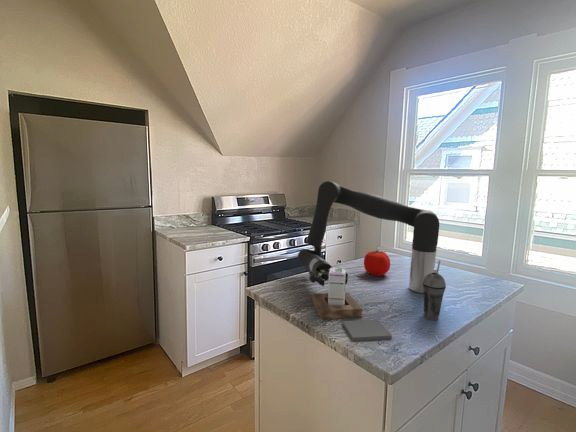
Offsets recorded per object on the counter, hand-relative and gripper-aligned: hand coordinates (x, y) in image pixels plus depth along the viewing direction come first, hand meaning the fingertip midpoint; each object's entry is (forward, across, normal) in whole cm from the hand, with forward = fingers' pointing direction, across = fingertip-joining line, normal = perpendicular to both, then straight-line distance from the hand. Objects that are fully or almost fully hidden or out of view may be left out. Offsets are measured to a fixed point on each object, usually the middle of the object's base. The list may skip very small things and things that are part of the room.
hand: (334, 282), depth 115 cm
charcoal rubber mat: (+19, +4, +9) cm, 21 cm away
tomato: (-30, +33, +9) cm, 46 cm away
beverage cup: (+14, +30, +9) cm, 34 cm away
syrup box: (+2, 0, +9) cm, 9 cm away
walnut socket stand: (+2, 0, +9) cm, 9 cm away
